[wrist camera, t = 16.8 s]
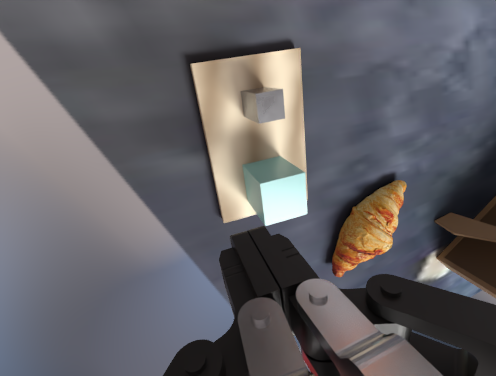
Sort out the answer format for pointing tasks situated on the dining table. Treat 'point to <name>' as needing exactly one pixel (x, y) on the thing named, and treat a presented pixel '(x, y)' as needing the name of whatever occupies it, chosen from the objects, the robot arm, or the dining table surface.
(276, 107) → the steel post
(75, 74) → the dining table surface
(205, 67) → the birch board
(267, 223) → the light blue cube
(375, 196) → the croissant
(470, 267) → the photo frame
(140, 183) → the dining table surface
